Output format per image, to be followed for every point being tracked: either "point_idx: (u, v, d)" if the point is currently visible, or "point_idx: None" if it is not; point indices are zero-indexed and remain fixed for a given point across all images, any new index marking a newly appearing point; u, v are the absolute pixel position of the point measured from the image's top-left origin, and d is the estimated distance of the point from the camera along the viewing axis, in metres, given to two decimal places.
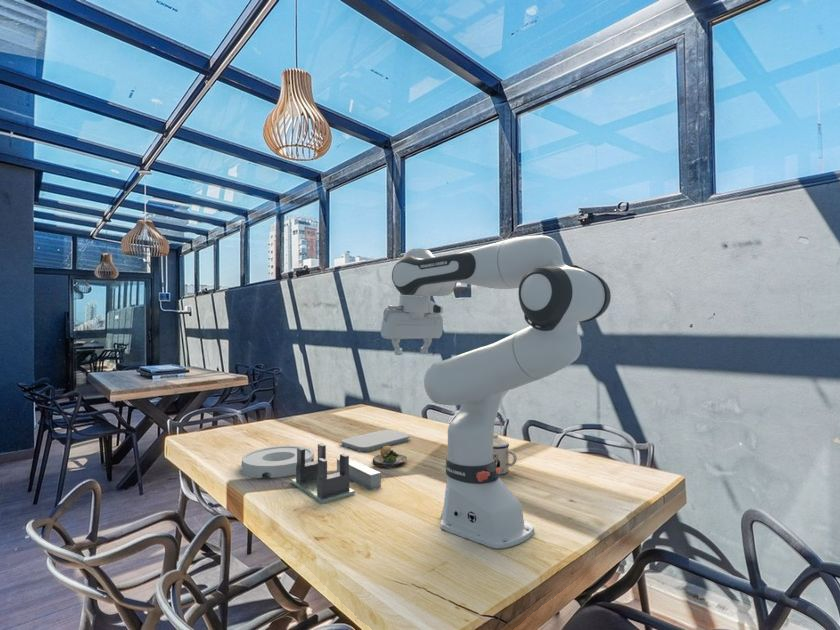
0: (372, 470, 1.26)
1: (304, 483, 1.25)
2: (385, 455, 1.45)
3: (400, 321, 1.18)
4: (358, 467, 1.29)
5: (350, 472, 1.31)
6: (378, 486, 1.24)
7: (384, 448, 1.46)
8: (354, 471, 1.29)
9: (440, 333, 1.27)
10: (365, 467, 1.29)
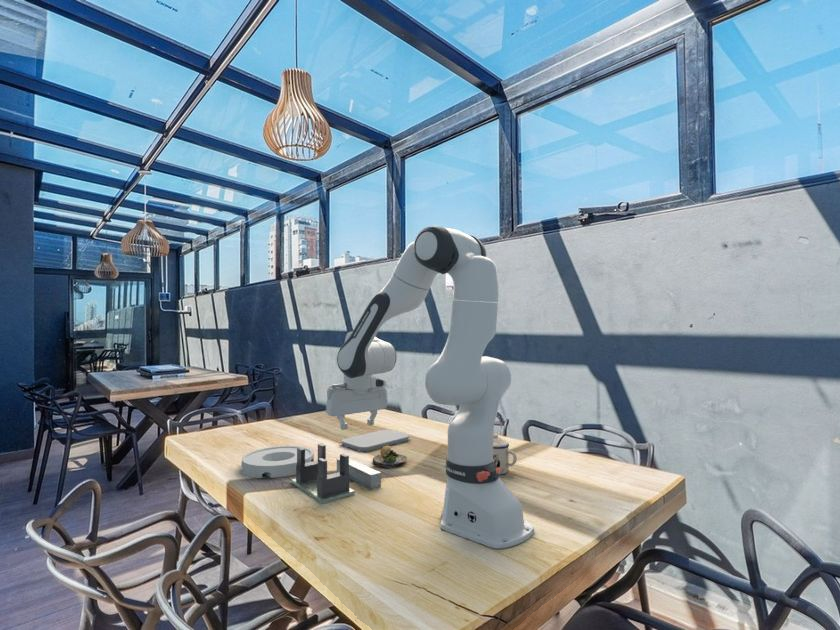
0: (372, 470, 1.26)
1: (304, 483, 1.25)
2: (385, 455, 1.45)
3: (343, 399, 1.27)
4: (358, 467, 1.29)
5: (350, 472, 1.31)
6: (378, 486, 1.24)
7: (384, 448, 1.46)
8: (354, 471, 1.29)
9: (385, 404, 1.36)
10: (365, 467, 1.29)
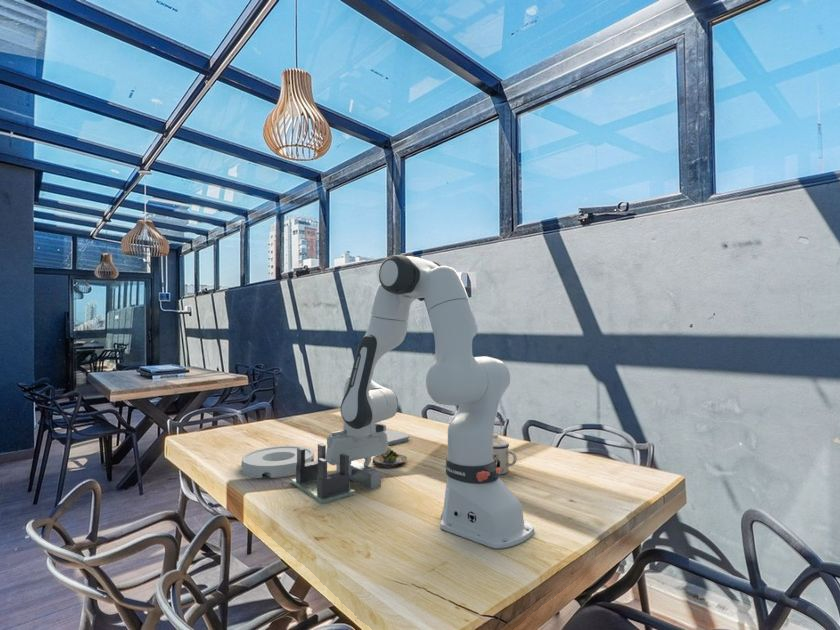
0: (372, 469, 1.26)
1: (304, 483, 1.25)
2: (385, 455, 1.45)
3: (343, 446, 1.26)
4: (358, 466, 1.29)
5: None
6: (378, 485, 1.24)
7: None
8: (354, 470, 1.29)
9: (385, 449, 1.36)
10: (365, 467, 1.29)
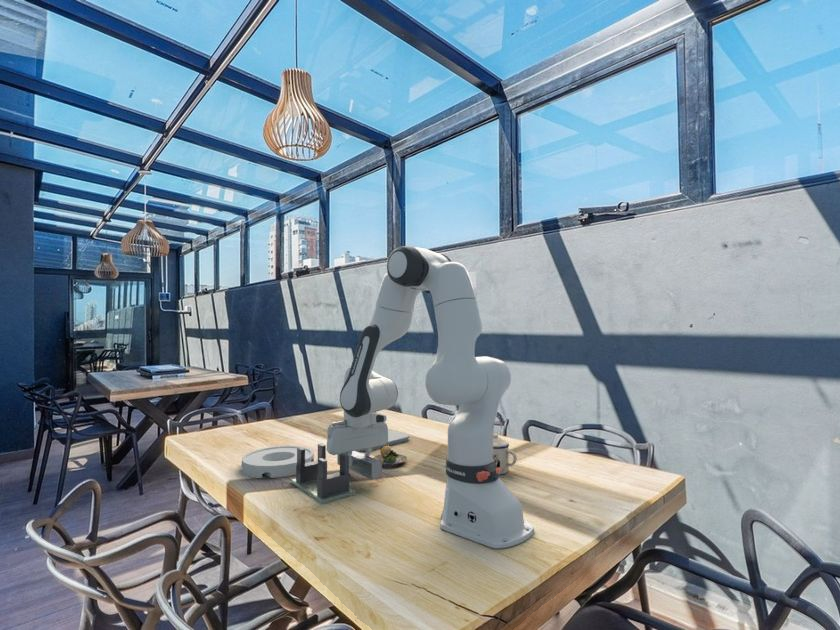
0: (373, 459, 1.26)
1: (304, 483, 1.25)
2: (385, 455, 1.45)
3: (344, 436, 1.26)
4: (358, 457, 1.29)
5: None
6: (379, 475, 1.23)
7: (384, 448, 1.46)
8: (355, 460, 1.29)
9: (386, 439, 1.35)
10: (366, 457, 1.29)
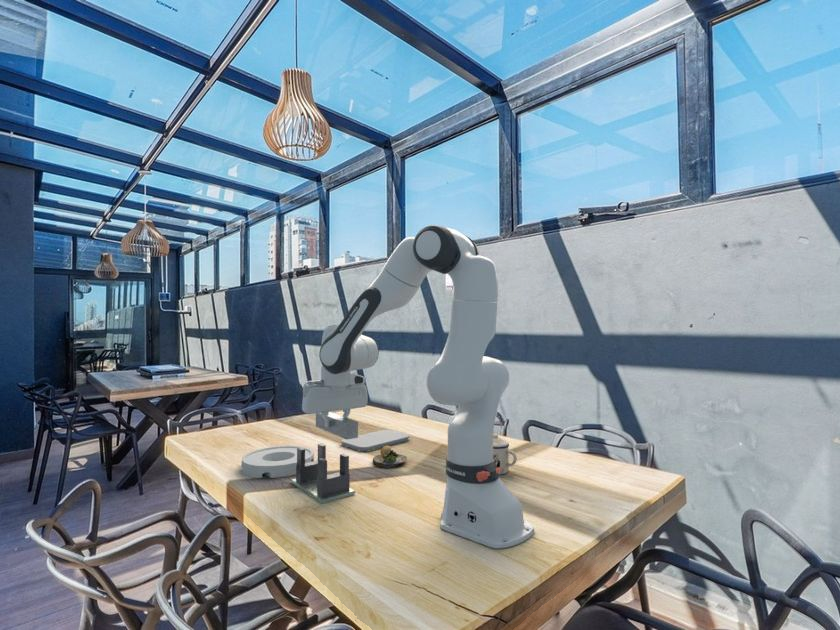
0: (349, 420, 1.22)
1: (304, 483, 1.25)
2: (385, 455, 1.45)
3: (320, 396, 1.22)
4: (335, 417, 1.25)
5: None
6: (355, 435, 1.20)
7: (384, 448, 1.46)
8: (332, 421, 1.25)
9: (365, 402, 1.31)
10: (343, 418, 1.25)
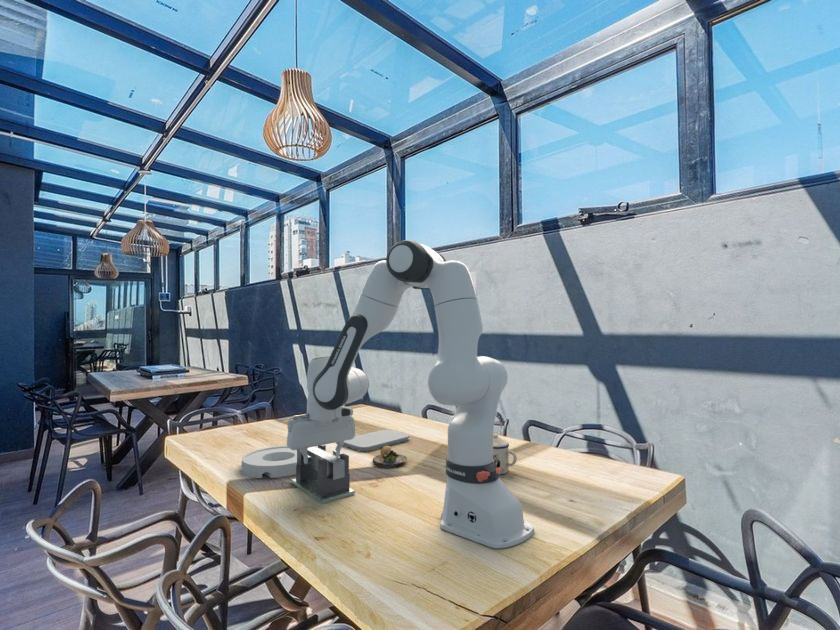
0: (336, 458, 1.19)
1: (304, 483, 1.25)
2: (385, 455, 1.45)
3: (305, 431, 1.19)
4: (322, 455, 1.22)
5: (314, 460, 1.24)
6: (341, 475, 1.16)
7: (384, 448, 1.46)
8: None
9: (352, 434, 1.28)
10: (329, 455, 1.22)
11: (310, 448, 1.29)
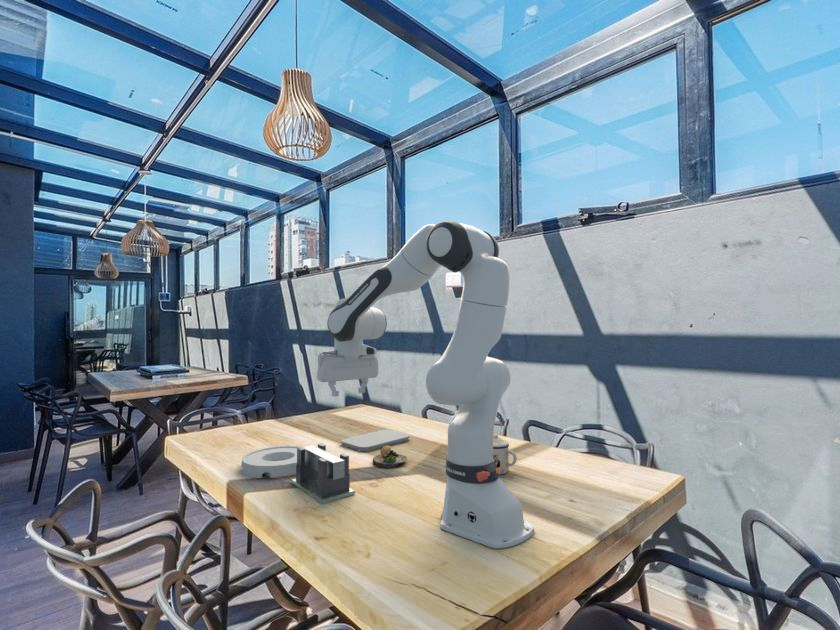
0: (336, 458, 1.19)
1: (304, 483, 1.25)
2: (385, 455, 1.45)
3: (334, 365, 1.28)
4: (322, 455, 1.22)
5: (314, 460, 1.24)
6: (341, 475, 1.16)
7: (384, 448, 1.46)
8: None
9: (376, 373, 1.37)
10: (329, 455, 1.22)
11: (310, 448, 1.29)
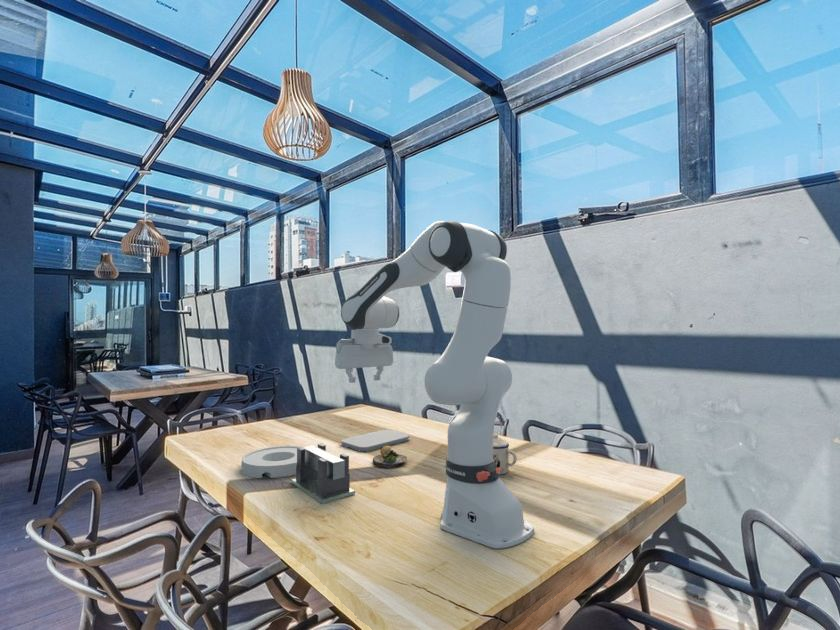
0: (336, 458, 1.19)
1: (304, 483, 1.25)
2: (385, 455, 1.45)
3: (351, 353, 1.34)
4: (322, 455, 1.22)
5: (314, 460, 1.24)
6: (341, 475, 1.16)
7: (384, 448, 1.46)
8: None
9: (391, 361, 1.43)
10: (329, 455, 1.22)
11: (310, 448, 1.29)
